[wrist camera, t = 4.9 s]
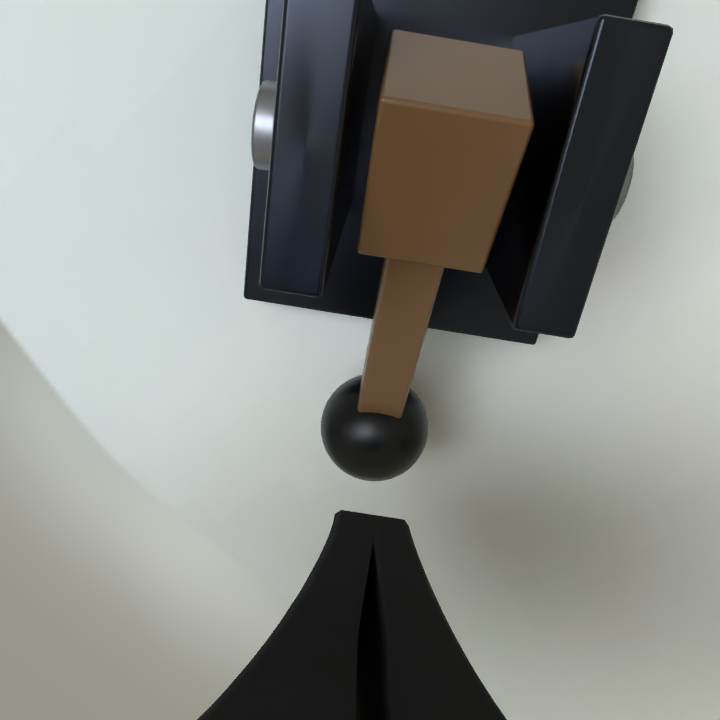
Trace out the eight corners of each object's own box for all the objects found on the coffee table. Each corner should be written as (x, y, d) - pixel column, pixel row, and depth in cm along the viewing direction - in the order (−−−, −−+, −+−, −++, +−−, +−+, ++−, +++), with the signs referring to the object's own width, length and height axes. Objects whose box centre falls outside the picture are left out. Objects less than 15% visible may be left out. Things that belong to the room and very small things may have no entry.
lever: (419, 422, 19) (414, 508, 17) (325, 407, 18) (309, 491, 17) (542, 47, 10) (559, 134, 9) (374, 18, 10) (355, 100, 8)
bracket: (527, 329, 18) (611, 499, 11) (251, 285, 18) (159, 428, 11) (647, -87, 14) (909, -243, 7) (286, -149, 14) (170, -375, 7)
